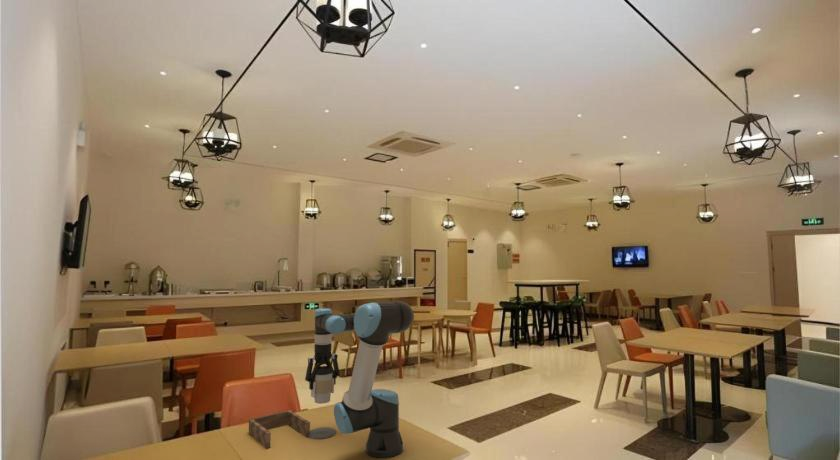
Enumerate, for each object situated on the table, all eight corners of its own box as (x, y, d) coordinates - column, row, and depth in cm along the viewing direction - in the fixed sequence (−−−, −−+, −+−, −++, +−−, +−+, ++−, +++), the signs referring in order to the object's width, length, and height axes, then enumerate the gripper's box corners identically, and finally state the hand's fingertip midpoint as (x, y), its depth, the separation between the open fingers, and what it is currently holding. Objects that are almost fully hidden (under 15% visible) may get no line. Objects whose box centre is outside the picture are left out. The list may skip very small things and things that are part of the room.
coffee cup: (335, 398, 194) (336, 364, 195) (327, 405, 185) (328, 369, 187) (317, 397, 196) (317, 364, 197) (308, 403, 187) (308, 368, 188)
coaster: (340, 434, 189) (340, 432, 189) (316, 441, 181) (316, 440, 181) (327, 426, 198) (327, 425, 198) (303, 433, 190) (303, 431, 190)
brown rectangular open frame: (309, 436, 187) (309, 422, 187) (266, 448, 174) (267, 433, 175) (289, 422, 203) (289, 409, 203) (248, 433, 191) (248, 419, 191)
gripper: (339, 339, 203) (339, 388, 201) (297, 345, 189) (296, 397, 187) (347, 341, 197) (347, 391, 195) (304, 347, 183) (304, 401, 181)
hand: (322, 394), depth 191 cm, fingers closed on coffee cup, 8 cm apart
